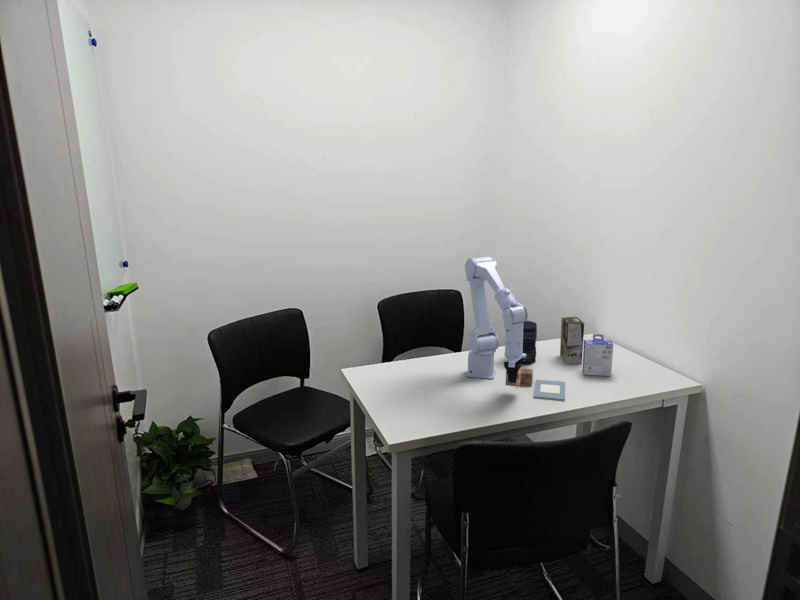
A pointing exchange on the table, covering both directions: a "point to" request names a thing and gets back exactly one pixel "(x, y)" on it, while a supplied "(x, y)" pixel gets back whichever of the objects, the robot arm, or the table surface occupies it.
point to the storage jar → (529, 342)
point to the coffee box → (572, 339)
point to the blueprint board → (550, 390)
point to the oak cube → (516, 379)
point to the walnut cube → (526, 376)
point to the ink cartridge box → (597, 356)
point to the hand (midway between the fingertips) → (513, 379)
